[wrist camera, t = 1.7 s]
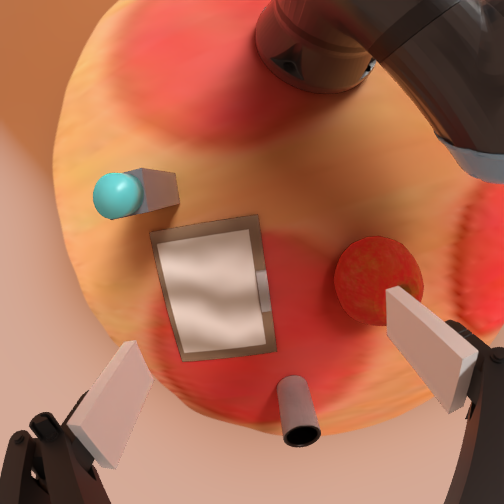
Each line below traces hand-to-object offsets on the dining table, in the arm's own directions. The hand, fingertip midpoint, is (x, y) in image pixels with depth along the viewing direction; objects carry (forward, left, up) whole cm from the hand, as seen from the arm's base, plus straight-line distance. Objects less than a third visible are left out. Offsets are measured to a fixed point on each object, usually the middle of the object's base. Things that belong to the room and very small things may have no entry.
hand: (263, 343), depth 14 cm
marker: (-9, -10, -21) cm, 24 cm away
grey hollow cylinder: (+21, +2, -21) cm, 30 cm away
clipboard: (+5, -6, -21) cm, 22 cm away
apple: (+5, +13, -21) cm, 25 cm away
